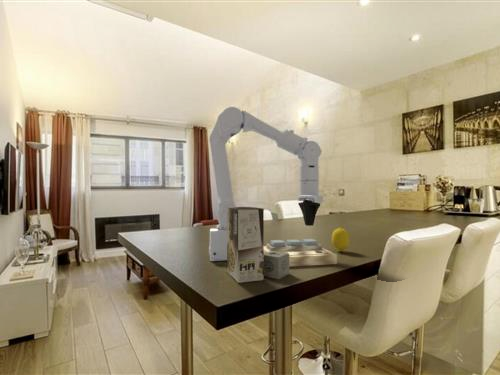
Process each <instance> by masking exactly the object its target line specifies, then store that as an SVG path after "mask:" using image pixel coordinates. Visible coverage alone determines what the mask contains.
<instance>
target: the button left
mask: <svg viewBox="0 0 500 375" xmlns="http://www.w3.org/2000/svg"><path fill="white" fill-rule="evenodd" d="M269 241H270V244H271V246H272V247H286V241H284V240H282V239H273V240H269Z"/></svg>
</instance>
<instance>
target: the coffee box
mask: <svg viewBox="0 0 500 375" xmlns="http://www.w3.org/2000/svg"><path fill="white" fill-rule="evenodd" d="M264 210H265V209H264V208H261V207H253V206H237V207H236V206H235V208H227V260H226V264H227V266H226V267H227V268H226V272H227V273H228V274H229V275H230V276H231V277H232V279H234V280H235V281H236V282H237V283H238V284H239V283H249V282H257V281H258V282H259V281H263V280H264V277H265V276H264V246H265V244H264V237H265V236H264V232H265V231H264V229H265V228H264V225H265V223H264V221H265V220H264V218H265V217H264V216H265V215H264V214H265V213H264V212H265V211H264Z"/></svg>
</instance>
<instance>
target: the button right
mask: <svg viewBox="0 0 500 375" xmlns="http://www.w3.org/2000/svg"><path fill="white" fill-rule="evenodd" d="M301 242H302V244H303V245H305V246H314V245H317V244H318V240H316V239H315V238H304V239H301Z"/></svg>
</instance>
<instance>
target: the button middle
mask: <svg viewBox="0 0 500 375" xmlns="http://www.w3.org/2000/svg"><path fill="white" fill-rule="evenodd" d="M285 243H286V245H288V246H302V240H299V239H286V240H285Z"/></svg>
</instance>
